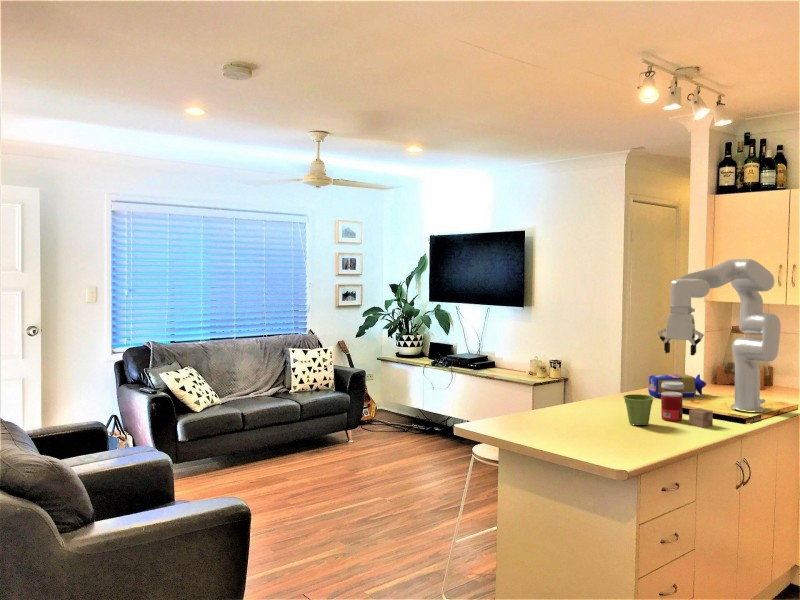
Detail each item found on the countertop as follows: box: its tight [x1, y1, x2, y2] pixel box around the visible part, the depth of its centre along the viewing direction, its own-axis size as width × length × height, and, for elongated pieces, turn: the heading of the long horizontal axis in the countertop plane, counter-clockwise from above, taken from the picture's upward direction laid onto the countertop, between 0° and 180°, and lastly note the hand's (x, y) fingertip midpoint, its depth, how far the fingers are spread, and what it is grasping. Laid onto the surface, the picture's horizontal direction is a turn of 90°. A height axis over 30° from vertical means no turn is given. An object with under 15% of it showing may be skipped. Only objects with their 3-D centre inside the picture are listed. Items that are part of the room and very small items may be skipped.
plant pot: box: [622, 393, 655, 426], centre depth 254 cm, size 12×12×11 cm
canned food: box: [660, 392, 683, 423], centre depth 260 cm, size 8×8×11 cm
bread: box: [647, 373, 707, 399], centre depth 304 cm, size 10×25×10 cm, turn 93°
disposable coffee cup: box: [661, 381, 685, 395], centre depth 276 cm, size 10×10×12 cm
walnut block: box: [688, 407, 714, 429], centre depth 250 cm, size 6×6×6 cm
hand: (680, 353), depth 250 cm, fingers open, 9 cm apart
